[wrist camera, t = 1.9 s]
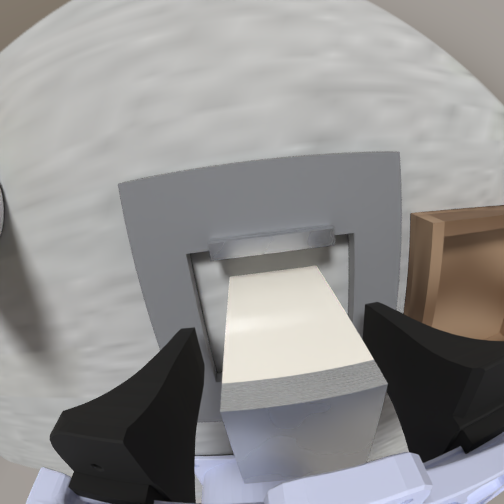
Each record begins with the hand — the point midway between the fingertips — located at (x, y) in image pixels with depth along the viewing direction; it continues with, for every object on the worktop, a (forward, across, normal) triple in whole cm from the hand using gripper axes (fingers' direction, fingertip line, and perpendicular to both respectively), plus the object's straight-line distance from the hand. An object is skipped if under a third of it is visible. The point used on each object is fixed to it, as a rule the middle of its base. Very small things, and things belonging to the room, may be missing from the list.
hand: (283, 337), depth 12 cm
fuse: (+2, 0, 0) cm, 2 cm away
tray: (+2, -12, +1) cm, 12 cm away
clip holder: (+2, 0, 0) cm, 2 cm away
